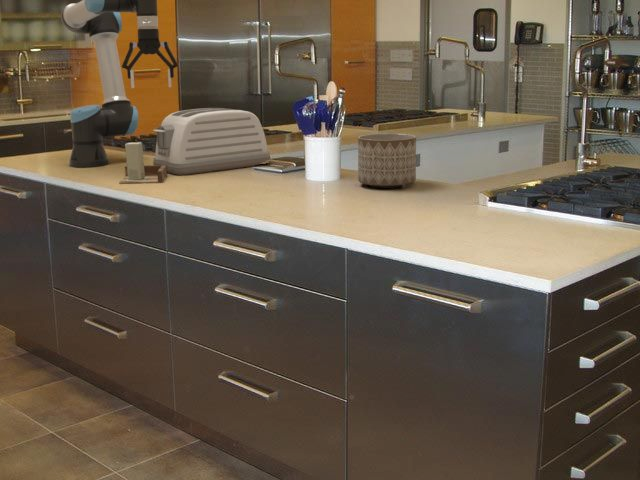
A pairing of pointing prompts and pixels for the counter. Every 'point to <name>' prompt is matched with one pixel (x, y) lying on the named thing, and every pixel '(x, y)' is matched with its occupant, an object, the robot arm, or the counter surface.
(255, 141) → the toaster
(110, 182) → the counter surface
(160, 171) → the arena
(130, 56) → the robot arm
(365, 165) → the planter
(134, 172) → the box
